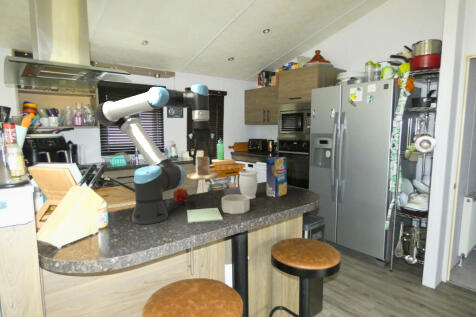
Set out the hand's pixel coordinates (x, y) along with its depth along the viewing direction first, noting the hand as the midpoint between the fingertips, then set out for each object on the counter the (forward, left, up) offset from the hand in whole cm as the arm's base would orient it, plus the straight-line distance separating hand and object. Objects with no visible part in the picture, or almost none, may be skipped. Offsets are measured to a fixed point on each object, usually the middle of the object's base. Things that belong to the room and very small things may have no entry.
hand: (202, 172), depth 123 cm
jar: (+28, +26, -21) cm, 43 cm away
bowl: (+16, +5, -20) cm, 26 cm away
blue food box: (+46, +28, -21) cm, 58 cm away
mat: (0, 0, -20) cm, 20 cm away
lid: (0, 0, -2) cm, 2 cm away
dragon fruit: (-10, +26, -21) cm, 35 cm away
